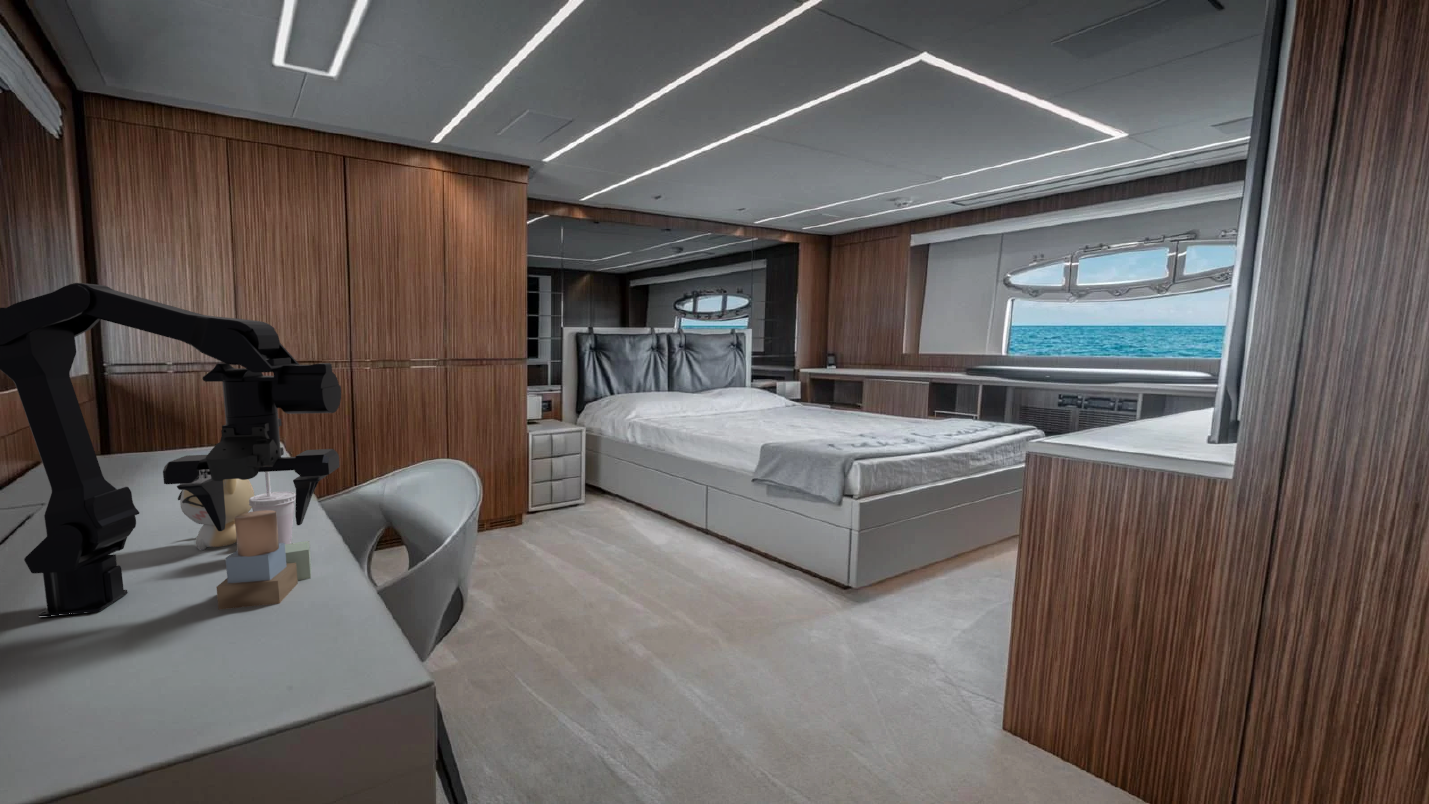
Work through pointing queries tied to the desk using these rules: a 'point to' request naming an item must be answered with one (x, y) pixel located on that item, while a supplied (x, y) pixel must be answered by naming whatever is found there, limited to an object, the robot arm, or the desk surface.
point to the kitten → (235, 505)
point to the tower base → (257, 590)
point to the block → (299, 558)
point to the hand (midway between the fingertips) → (261, 527)
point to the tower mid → (255, 566)
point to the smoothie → (277, 509)
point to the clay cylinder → (256, 533)
